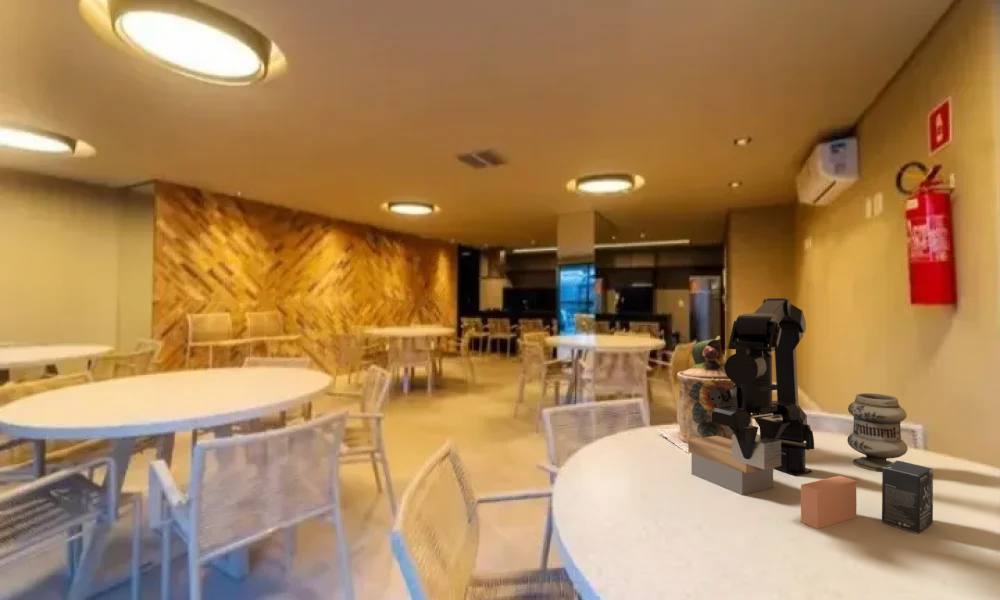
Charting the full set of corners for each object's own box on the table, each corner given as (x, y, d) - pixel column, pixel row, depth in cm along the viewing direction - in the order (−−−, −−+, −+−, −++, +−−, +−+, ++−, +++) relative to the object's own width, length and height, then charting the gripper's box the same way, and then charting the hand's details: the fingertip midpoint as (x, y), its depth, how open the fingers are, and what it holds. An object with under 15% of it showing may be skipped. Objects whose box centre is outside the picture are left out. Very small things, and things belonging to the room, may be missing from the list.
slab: (717, 447, 120) (717, 435, 120) (777, 466, 106) (777, 453, 106) (688, 452, 116) (688, 439, 116) (746, 473, 102) (746, 459, 102)
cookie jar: (654, 433, 152) (654, 333, 152) (726, 431, 155) (726, 333, 155) (693, 458, 128) (693, 339, 128) (778, 455, 130) (778, 338, 131)
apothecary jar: (855, 470, 118) (855, 398, 118) (841, 456, 129) (841, 390, 129) (916, 477, 114) (916, 402, 114) (896, 462, 125) (896, 393, 125)
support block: (748, 455, 98) (748, 431, 99) (781, 465, 92) (781, 440, 92) (731, 458, 96) (731, 434, 96) (764, 469, 90) (764, 443, 90)
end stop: (840, 510, 95) (839, 475, 95) (856, 516, 92) (856, 480, 92) (801, 521, 90) (800, 484, 90) (817, 528, 87) (817, 490, 87)
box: (919, 534, 85) (919, 475, 85) (881, 522, 90) (880, 466, 90) (934, 524, 89) (933, 467, 89) (896, 512, 94) (896, 459, 94)
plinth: (721, 468, 119) (721, 448, 119) (773, 487, 107) (773, 465, 107) (691, 474, 115) (691, 453, 115) (742, 495, 102) (742, 471, 103)
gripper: (751, 370, 106) (752, 440, 105) (689, 375, 98) (689, 451, 98) (801, 377, 95) (801, 455, 95) (736, 383, 88) (736, 468, 88)
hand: (756, 456), depth 94 cm, fingers closed on support block, 5 cm apart
